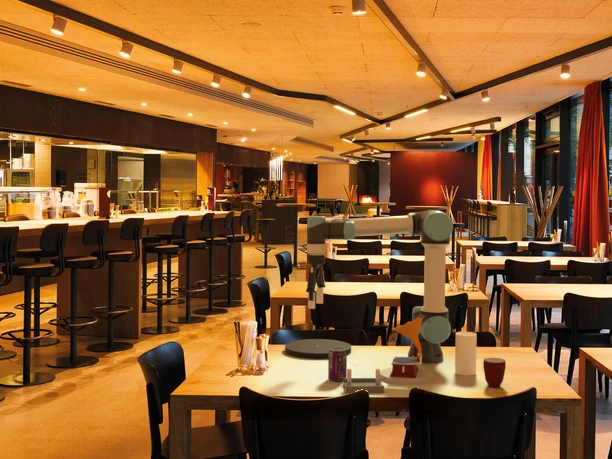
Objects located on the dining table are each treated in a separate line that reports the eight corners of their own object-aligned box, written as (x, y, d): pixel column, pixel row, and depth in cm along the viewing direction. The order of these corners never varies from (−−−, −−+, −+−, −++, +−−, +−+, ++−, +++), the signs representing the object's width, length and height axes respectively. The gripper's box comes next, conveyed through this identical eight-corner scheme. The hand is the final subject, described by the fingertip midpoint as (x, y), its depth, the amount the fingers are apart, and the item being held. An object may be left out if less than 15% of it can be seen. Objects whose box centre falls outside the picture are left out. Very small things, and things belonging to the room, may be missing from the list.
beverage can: (345, 382, 292) (345, 351, 291) (326, 381, 293) (326, 350, 292) (347, 378, 299) (347, 347, 298) (329, 377, 300) (330, 346, 299)
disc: (363, 350, 350) (363, 343, 350) (329, 362, 325) (329, 355, 325) (307, 342, 366) (307, 336, 366) (271, 354, 341) (271, 347, 341)
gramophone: (433, 373, 307) (434, 311, 305) (430, 386, 287) (431, 320, 285) (383, 370, 311) (383, 309, 310) (376, 383, 292) (376, 318, 290)
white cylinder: (477, 371, 309) (477, 332, 308) (474, 376, 301) (475, 336, 300) (456, 369, 312) (457, 331, 311) (453, 374, 304) (454, 334, 303)
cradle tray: (380, 384, 289) (380, 365, 289) (384, 392, 278) (384, 373, 277) (343, 384, 289) (343, 365, 289) (345, 392, 277) (345, 373, 277)
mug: (476, 382, 292) (476, 356, 291) (495, 381, 294) (496, 355, 293) (489, 389, 282) (489, 363, 281) (509, 388, 283) (509, 362, 283)
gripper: (314, 251, 323) (314, 300, 325) (299, 256, 299) (298, 310, 301) (332, 251, 321) (331, 301, 323) (317, 257, 297) (317, 311, 299)
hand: (315, 305), depth 312 cm, fingers open, 13 cm apart
